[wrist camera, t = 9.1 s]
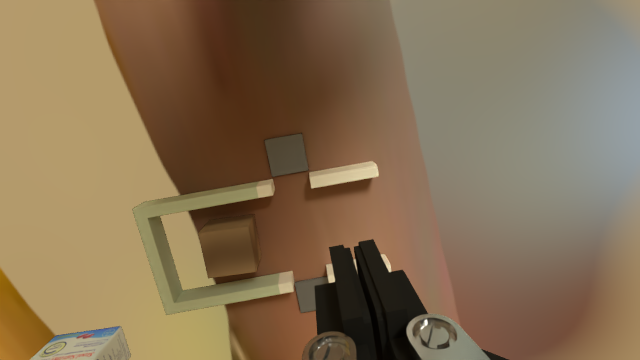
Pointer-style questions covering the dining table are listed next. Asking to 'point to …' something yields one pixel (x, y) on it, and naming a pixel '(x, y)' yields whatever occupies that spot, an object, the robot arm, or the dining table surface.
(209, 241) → the walnut block
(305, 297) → the pads
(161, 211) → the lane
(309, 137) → the dining table surface
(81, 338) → the medicine box
